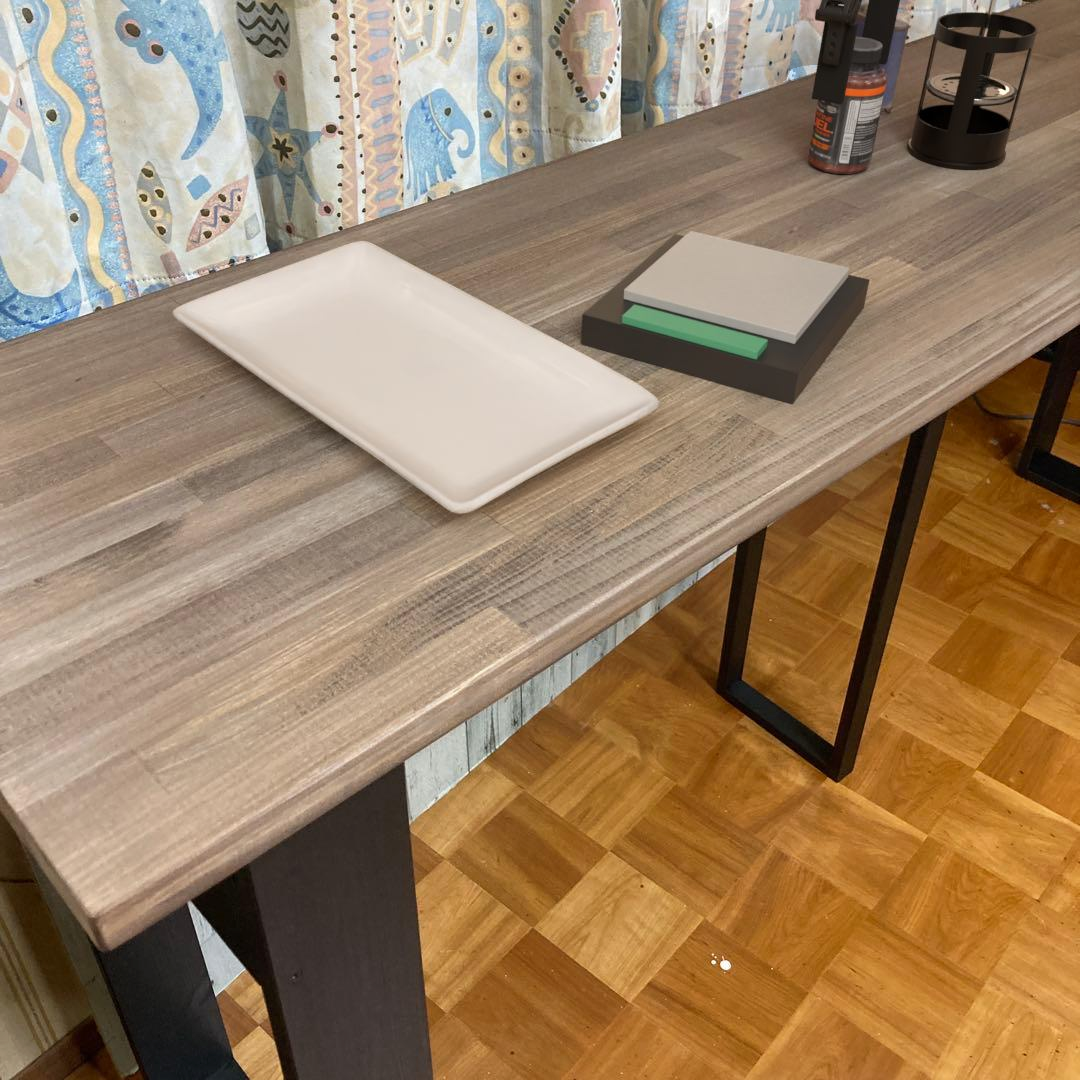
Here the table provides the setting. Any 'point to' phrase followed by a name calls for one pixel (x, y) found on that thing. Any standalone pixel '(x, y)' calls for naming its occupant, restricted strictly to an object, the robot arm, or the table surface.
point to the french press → (970, 93)
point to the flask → (893, 58)
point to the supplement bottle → (851, 115)
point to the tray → (418, 371)
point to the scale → (729, 314)
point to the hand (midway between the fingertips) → (850, 80)
